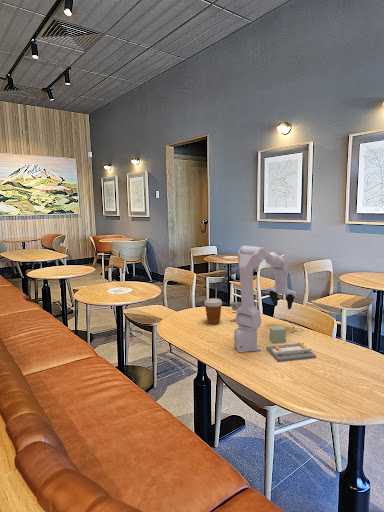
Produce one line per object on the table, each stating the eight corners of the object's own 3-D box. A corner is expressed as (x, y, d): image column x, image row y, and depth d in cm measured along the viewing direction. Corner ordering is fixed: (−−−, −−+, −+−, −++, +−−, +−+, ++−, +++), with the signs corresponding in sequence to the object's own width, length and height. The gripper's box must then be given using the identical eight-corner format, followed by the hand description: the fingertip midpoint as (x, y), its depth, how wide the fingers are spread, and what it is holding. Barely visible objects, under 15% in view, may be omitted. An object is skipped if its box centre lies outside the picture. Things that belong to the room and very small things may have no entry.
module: (272, 343, 149) (273, 330, 148) (269, 339, 152) (269, 327, 151) (285, 341, 149) (285, 329, 148) (281, 338, 153) (282, 325, 152)
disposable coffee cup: (202, 320, 179) (201, 299, 177) (218, 318, 182) (218, 297, 180) (208, 326, 170) (207, 304, 168) (225, 324, 173) (225, 302, 171)
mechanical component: (250, 321, 175) (249, 303, 174) (230, 322, 176) (230, 303, 174) (249, 319, 178) (249, 301, 177) (229, 320, 178) (229, 302, 177)
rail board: (277, 361, 131) (278, 354, 131) (266, 348, 143) (266, 342, 142) (315, 357, 134) (316, 350, 133) (301, 345, 145) (301, 338, 145)
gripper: (299, 280, 159) (300, 306, 162) (272, 276, 169) (274, 301, 172) (291, 285, 154) (293, 312, 157) (264, 281, 164) (266, 306, 168)
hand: (282, 307), depth 165 cm, fingers open, 7 cm apart
